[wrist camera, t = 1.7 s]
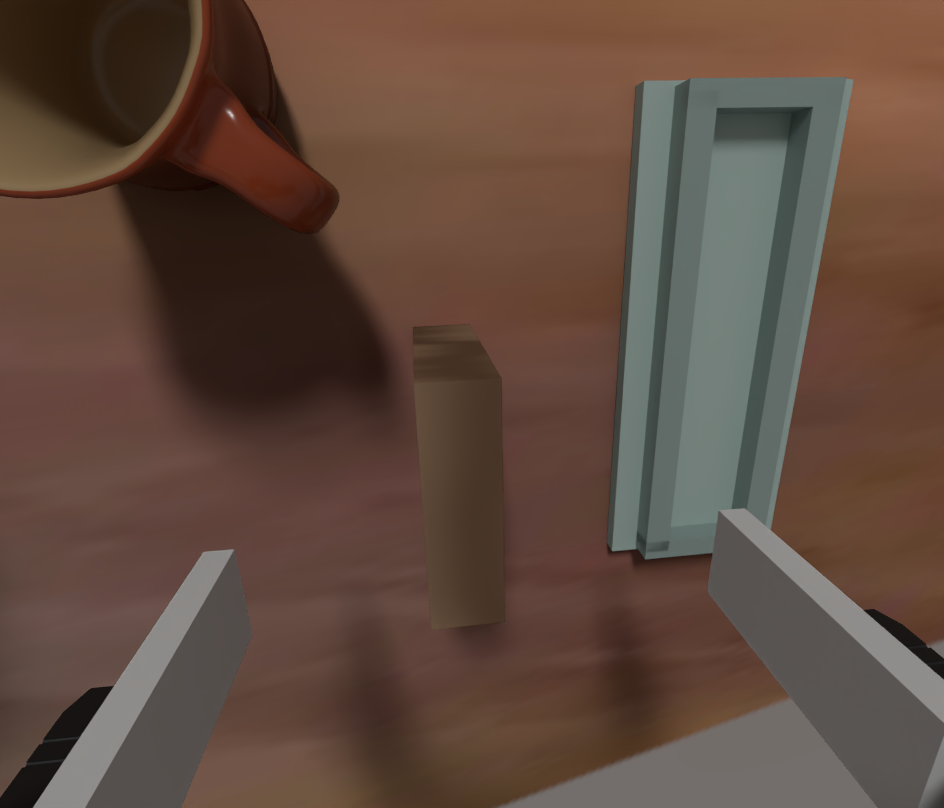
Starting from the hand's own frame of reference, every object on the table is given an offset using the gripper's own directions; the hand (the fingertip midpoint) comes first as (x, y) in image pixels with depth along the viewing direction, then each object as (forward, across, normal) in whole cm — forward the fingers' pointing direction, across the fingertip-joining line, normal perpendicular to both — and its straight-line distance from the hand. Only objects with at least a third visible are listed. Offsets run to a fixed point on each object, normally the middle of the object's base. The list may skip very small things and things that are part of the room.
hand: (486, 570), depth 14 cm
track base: (+12, +12, +3) cm, 18 cm away
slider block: (+12, 0, 0) cm, 12 cm away
